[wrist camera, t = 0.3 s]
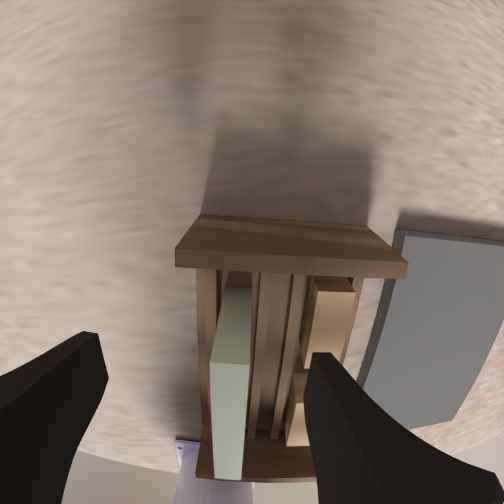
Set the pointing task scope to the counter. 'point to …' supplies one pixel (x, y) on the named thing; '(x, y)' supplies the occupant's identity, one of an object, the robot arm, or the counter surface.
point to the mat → (434, 326)
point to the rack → (272, 318)
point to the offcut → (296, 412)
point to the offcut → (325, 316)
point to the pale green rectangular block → (230, 381)
